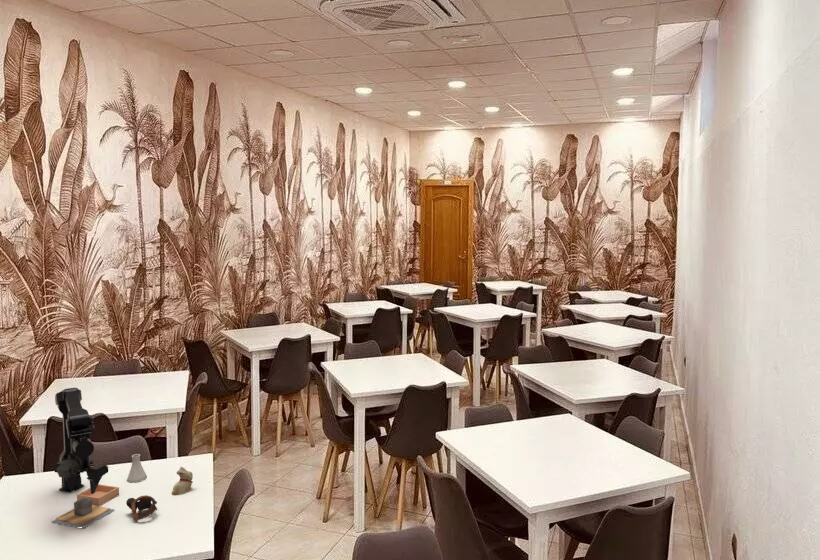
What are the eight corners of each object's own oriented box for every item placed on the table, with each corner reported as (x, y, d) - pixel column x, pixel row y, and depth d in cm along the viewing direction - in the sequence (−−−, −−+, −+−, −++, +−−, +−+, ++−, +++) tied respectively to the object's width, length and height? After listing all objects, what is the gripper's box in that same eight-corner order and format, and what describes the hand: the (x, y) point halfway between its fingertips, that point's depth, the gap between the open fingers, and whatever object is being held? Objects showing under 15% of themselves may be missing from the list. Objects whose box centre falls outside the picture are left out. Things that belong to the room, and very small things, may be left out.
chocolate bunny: (193, 492, 240) (192, 467, 239) (171, 496, 237) (170, 470, 236) (192, 487, 245) (192, 462, 244) (171, 490, 242) (170, 465, 241)
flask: (139, 483, 248) (138, 459, 247) (123, 482, 249) (122, 458, 248) (150, 476, 255) (149, 452, 254) (134, 475, 256) (133, 451, 255)
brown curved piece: (164, 510, 226) (162, 496, 221) (148, 532, 218) (146, 518, 213) (134, 500, 227) (132, 486, 223) (117, 522, 219) (115, 508, 215)
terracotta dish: (77, 502, 231) (76, 494, 231) (98, 491, 240) (97, 483, 240) (98, 506, 228) (98, 498, 228) (119, 494, 237) (118, 487, 237)
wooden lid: (56, 520, 216) (55, 505, 216) (83, 505, 228) (83, 491, 227) (83, 525, 213) (82, 510, 212) (110, 510, 224) (109, 496, 223)
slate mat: (51, 522, 216) (51, 521, 215) (83, 505, 229) (83, 504, 229) (83, 528, 211) (83, 527, 211) (114, 510, 225) (114, 509, 225)
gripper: (39, 454, 213) (42, 498, 214) (82, 460, 207) (85, 505, 209) (66, 443, 223) (68, 485, 225) (108, 448, 218) (110, 491, 219)
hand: (82, 491), depth 219 cm, fingers open, 9 cm apart
